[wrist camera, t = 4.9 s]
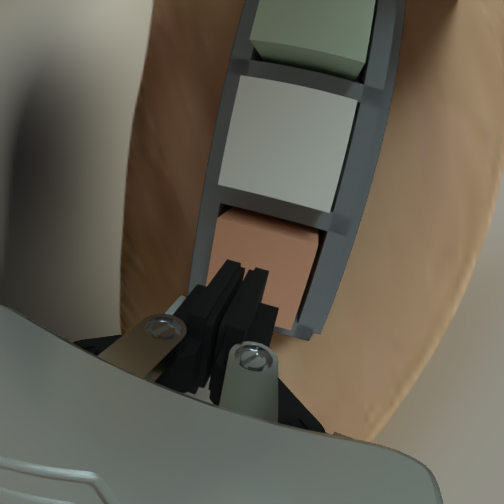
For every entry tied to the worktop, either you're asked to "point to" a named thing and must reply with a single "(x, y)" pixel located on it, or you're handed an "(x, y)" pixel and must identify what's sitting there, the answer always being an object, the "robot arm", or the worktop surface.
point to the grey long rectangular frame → (353, 169)
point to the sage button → (314, 34)
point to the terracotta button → (267, 255)
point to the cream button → (287, 142)
